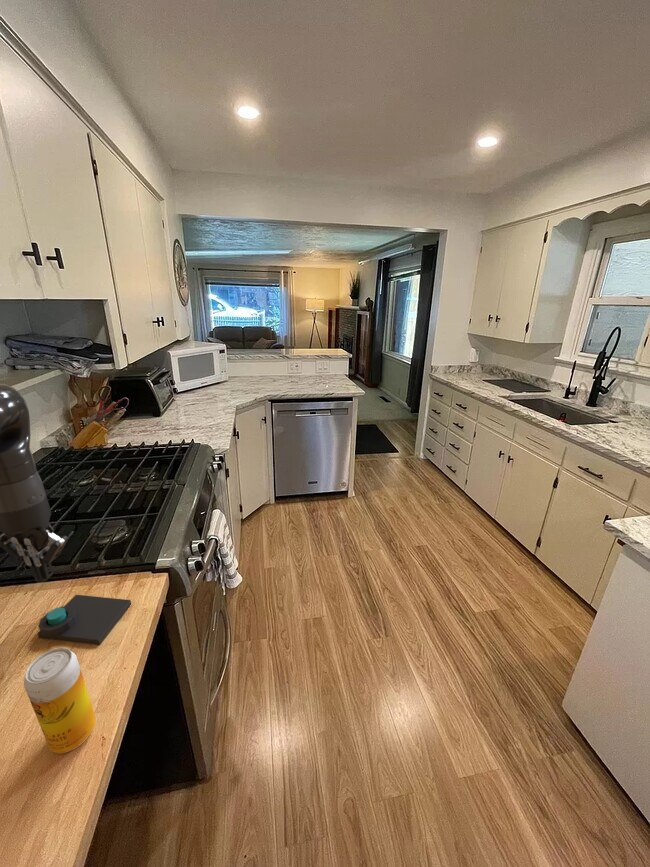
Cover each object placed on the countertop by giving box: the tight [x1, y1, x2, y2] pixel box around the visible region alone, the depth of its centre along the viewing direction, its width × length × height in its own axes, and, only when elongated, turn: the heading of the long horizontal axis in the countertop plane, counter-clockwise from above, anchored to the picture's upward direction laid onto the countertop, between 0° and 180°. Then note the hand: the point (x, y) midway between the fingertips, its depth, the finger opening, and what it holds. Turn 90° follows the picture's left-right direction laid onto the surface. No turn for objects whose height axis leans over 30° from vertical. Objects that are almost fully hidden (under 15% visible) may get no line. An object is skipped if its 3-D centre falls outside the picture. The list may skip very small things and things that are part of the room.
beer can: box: [23, 647, 97, 754], centre depth 53 cm, size 6×6×15 cm
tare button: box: [46, 606, 67, 625], centre depth 72 cm, size 3×3×2 cm
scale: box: [37, 594, 132, 646], centre depth 74 cm, size 13×10×3 cm
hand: (44, 578), depth 68 cm, fingers closed
